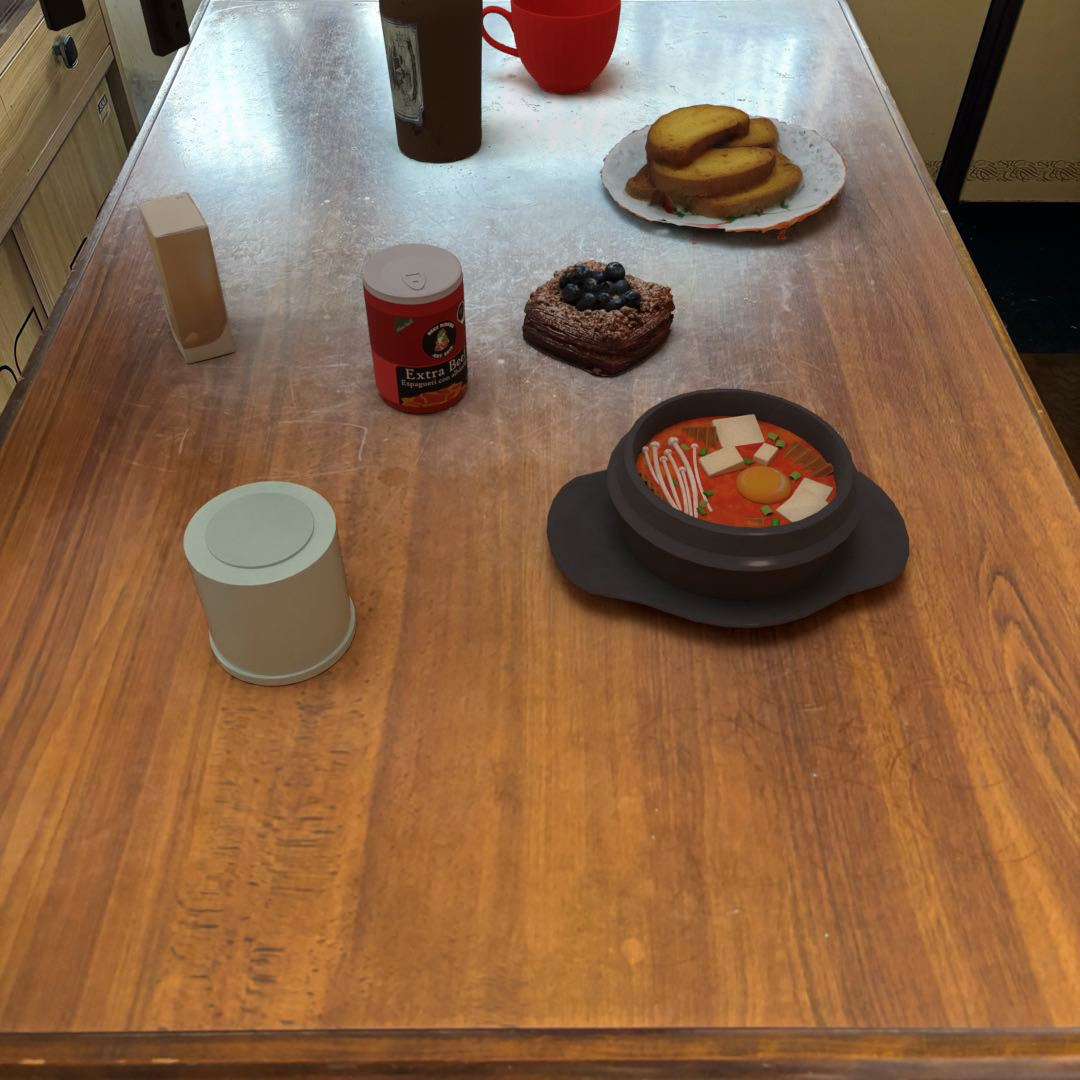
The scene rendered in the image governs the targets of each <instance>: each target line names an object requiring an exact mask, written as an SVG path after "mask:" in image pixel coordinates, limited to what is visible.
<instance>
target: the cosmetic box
mask: <svg viewBox="0 0 1080 1080" xmlns="http://www.w3.org/2000/svg"><path fill="white" fill-rule="evenodd" d="M136 206H137V209H138V212H139V216H140V220H141V224H142V227H143V231H144V235H145V238H146V242H147V247H148V249H149V255H150V257H151V262H152V265H153V269H154V272H155V276H156V280H157V283H158V288H159V292H160V295H161V300H162V303H163V307H164V311H165V315H166V319H167V322H168V325H169V329H170V332H171V334H172V336H173V339H174V341H175V343H176V346H177V347H178V350H179V351H180V353H181V355H182V357H183V359H184V360H185V362H186V364H188V365H189V364H193V363H197V362H201V361H206V360H210V359H213V358H217V357H220V356H224V355H228V354H231V353H234V352H236V347H235V346H236V345H235V341H234V338H233V334H232V328H231V324H230V321H229V315H228V310H227V306H226V301H225V296H224V292H223V288H222V284H221V279H220V274H219V270H218V265H217V259H216V256H215V251H214V246H213V242H212V238H211V237H212V236H211V233H210V228H209V224H208V223H207V221H206V220H205V218H204V216H203V214H202V212H201V211H200V210H199V207H198V206H197V204H196V203H195V201H194V200H193V198H192V196H191V195H190V192H187V191H186V192H180V193H176V194H172V195H167V196H163V197H158V198H153V199H148V200H144V201H141V202H137V203H136Z"/></svg>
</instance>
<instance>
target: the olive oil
mask: <svg viewBox="0 0 1080 1080" xmlns="http://www.w3.org/2000/svg"><path fill="white" fill-rule="evenodd" d="M483 9H484V0H378V10H379V17H380V23H381V30H382V37H383V43H384V51H385V58H386V65H387V73H388V79H389V86H390V94H391V101H392V109H393V115H394V124H395V132H396V140H397V141H396V142H397V146H398V149H399V150H400V152H401V153H402V154H403V155H405V156H406V157H408V158H411V159H413V160H416V161H420V162H426V163H449V162H455V161H459V160H462V159H463V160H464V159H466V158H468V157H471V156H472V155H474V154H475V153H477V152H478V151H479V149H480V148H481V147H482V144H483V127H482V126H483V120H482V119H483V117H482V114H483V113H482V110H483V109H482V108H483V106H482V105H483V104H482V100H483V99H482V98H483V97H482V94H483V93H482V91H483V90H482V89H483V86H482V84H483V83H482V82H483V37H482V26H483V24H484V19H483Z"/></svg>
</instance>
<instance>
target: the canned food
mask: <svg viewBox="0 0 1080 1080" xmlns="http://www.w3.org/2000/svg"><path fill="white" fill-rule="evenodd" d="M462 267H463V266H462V263H461V261H460V259H459V258H458V257H457V256H456V255H455V254H454V253H453V252H451V251H449V250H447V249H445V248H443V247H441V246H440V247H439V246H438V245H433V244H427V243H402V244H397V245H392V246H388V247H386V248H383V249H381V250H378V251H377V252H375V253H373V254H372V255H370V256H369V258H368V259H367V260H366V261H365V262H364V264H363V266H362V271H361V274H362V277H361V279H362V288H363V289H362V291H363V297H364V307H365V315H366V321H367V329H368V336H369V343H370V345H369V346H370V352H371V358H372V359H371V360H372V367H373V375H374V381H375V386H376V389H377V390H378V393H379V394H380V396H381V398H382V399H383V400H384V401H385V403H387V404H388V405H389V406H391V407H392V408H394V409H397V410H398V411H403V412H405V413H410V414H411V413H412V414H427V413H428V414H429V413H435V412H438V411H442V410H444V409H447V408H449V407H451V406H452V405H454V404H456V403H457V402H458V401H459V400H460V399H461V398H462V396H463V395H464V394H465V390H466V388H467V384H468V381H469V367H468V345H467V344H468V343H467V325H466V306H465V303H466V302H465V286H464V285H465V283H464V272H463V268H462Z"/></svg>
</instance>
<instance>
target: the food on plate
mask: <svg viewBox="0 0 1080 1080" xmlns="http://www.w3.org/2000/svg"><path fill="white" fill-rule="evenodd" d="M602 162H604V163H603V164H604V165H603V166H602V168H601V169H600V171H599V174H600V179H601V181H602V184H601V186H602V187H603V188H606V189H607V191H608V192H609V194H610V196H611V197H612V198H613V201H615V202H617V203H618V207H620V208H622V209H624V210H627V211H629V213H631V214H634V215H635V216H637V217H639V218H641V219H645V220H646V221H649V222H655V221H656V222H661V223H667V224H674V225H676V226H688V227H696V228H702V229H725V230H724V232H736V233H741V232H742V233H743V232H746V231H751V232H752V231H755V232H756V233H757V232H759V231H761V233H762V234H765V233H766V232H767V231H771V230H781V231H780V233H779V234H778V235H776V236H775V238H777V239H778V240H787V239H786V231H787V230H788V228H790V227H792V226H793V225H794V224H796V223H797V222H802V221H803V220H805V219H806V218H807V217H809V216H811V215H815V214H816V213H818V212H820V211H821V210H822V209H823V207H824V206H827V205H829V204H830V201H831V200H835V199H836V198H837V196H838V194H841V193H842V189H844V185H845V184H846V176H847V171H849V170H848V166H847V165H846V161H845V158H844V156H842V155H841V152H840V151H839V150H838V149H837V148H836V147H835V146H834V145H833V144H832V142H831V141H830V140H828V139H824V138H823V137H822V136H821V135H820V134H819V133H818V132H817V131H816V130H815V129H807V128H805V127H803V126H801V125H799V124H796V123H790V124H788V123H786V122H785V121H782V120H781V121H780V120H779V119H778V118H774V117H768V116H763V115H757V114H756V115H752V114H749V113H747V112H745V111H743V109H740V108H737V107H734V106H729V105H718V104H717V105H716V104H710V103H703V104H701V103H700V104H694V105H689V106H683V107H678V108H676V109H673V110H671V111H669V112H667V113H664V114H662V115H660V117H658V118H657V119H656V120H655V121H654V122H653V123H652V124H645V126H644V127H643V128H642V127H641V128H640V129H634V130H632V132H631V133H629V134H627V135H626V136H625V137H623V138H622V139H621V140H620V141H619V142H617V143H616V144H614V146H613V147H612V148H611V149H610V150H609V151H608V154H606V155H605V157H604V158H603V159H602ZM664 220H665V221H664ZM782 229H783V230H782ZM697 244H698V243H697V242H696V241H693V242H691V245H697Z"/></svg>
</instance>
